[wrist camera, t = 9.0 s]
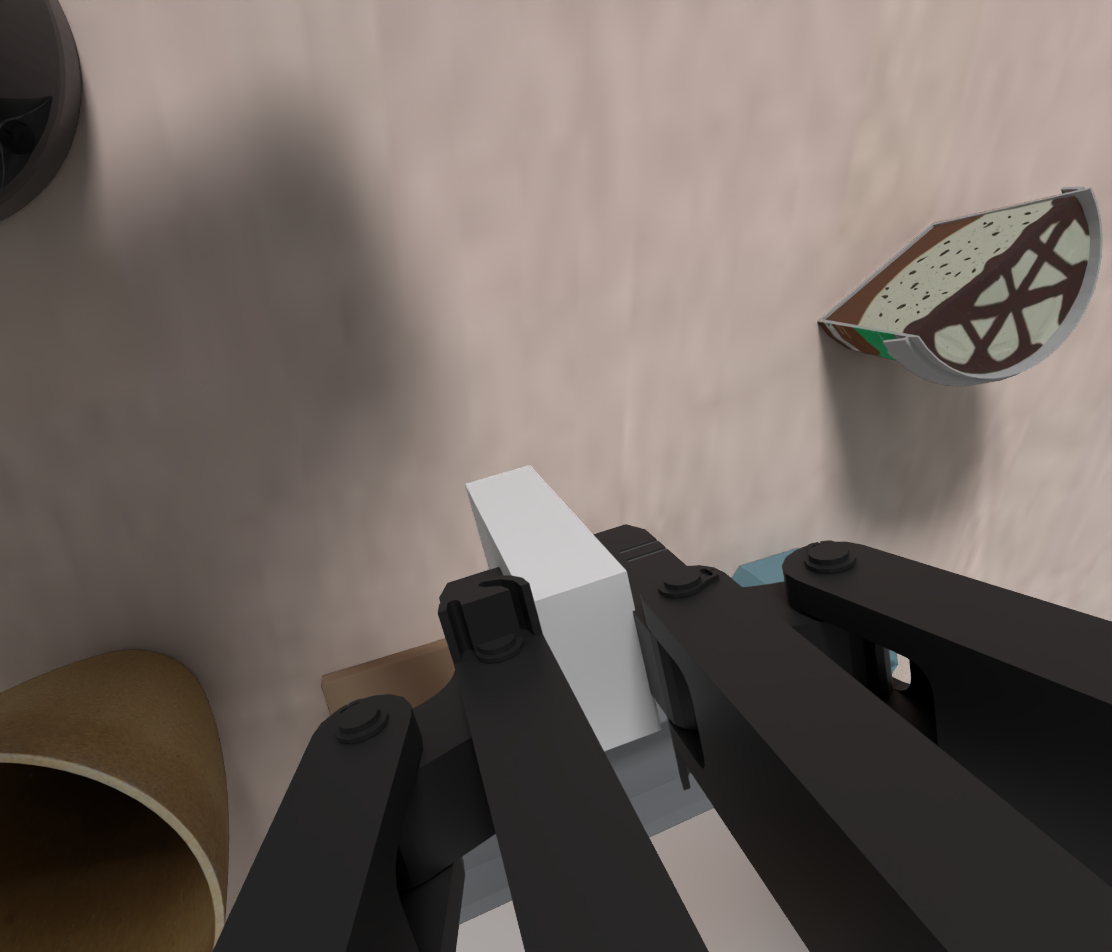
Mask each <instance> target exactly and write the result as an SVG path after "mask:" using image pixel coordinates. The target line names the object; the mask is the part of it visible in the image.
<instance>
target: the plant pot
mask: <svg viewBox="0 0 1112 952" xmlns="http://www.w3.org/2000/svg"><path fill="white" fill-rule="evenodd" d="M228 858H229V813H228V794H227V783H226V774H225V767H224V761H223V754H222V749H221V744H220V739H219V735H218V731H217V727H216V723H215V720H214V716H213V713H212V711H211V708H210V705H209V702H208V700H207V697H206V695H205V693H204V690H203V688H202V686H201V685H200V683H199V681H198V680H197V678H196V677H195V676H194V675H193V674H192V673H191V672H190V671H189V670H188V669H187V668H186V667H185V666H184V665H182V664H180V663H179V662H177V661H176V660H174V659H173V658H170V657H168V656H165V655H163V654H160V653H156V652H151V651H146V650H123V651H116V652H111V653H107V654H103V655H99V656H95V657H91V658H88V659H85V660H81V661H78V662H75V663H72V664H69V665H66V666H63V667H60V668H58V669H55V670H52V671H50V672H47V673H45V674H43V675H40V676H38V677H35V678H33V679H30V680H28V681H26V682H23V683H21V684H19V685H17V686H15V687H13V688H10V689H8V690H6V691H4V692H2V693H0V952H212V951H213V949H214V947H215V945H216V943H217V940H218V938H219V936H220V934H221V932H222V930H223V927H224V925H225V917H226V901H227V885H228Z"/></svg>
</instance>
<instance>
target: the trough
mask: <svg viewBox="0 0 1112 952" xmlns="http://www.w3.org/2000/svg"><path fill="white" fill-rule="evenodd" d="M655 701H656V700H655ZM656 706H657V710H658V715H659V719H660V724H661V728H662V730H660V731H658V732H655V733H652V734H650V735H647V736H644V737H641V738H639V739H636V740H633V741H631V742H628V743H625V744H623V745H620V746H617V747H614V748H612V749H609V750H606V751H604V752H605V754H606V756H607V758H608V760H609V762H610V764H611V765H612V767H613V769H614V771H615V773H616V775H617V777H618V779H619V781H620V783H621V785H622V787H623V788H624V790H625V792H626V794H627V796H628V798H629V800H630V802H631V804H632V806H633V808H634V810H635V811H636V813H637V815H638V817H639V819H640V821H641V823H642V825H643V827H644V829H645V831H646V833H647V834H648V836H649V837H651V836H653V835H655V834H658V833H660V832H662V831H664V830H667V829H669V828H671V827H673V826H675V825H677V824H680V823H682V822H684V821H686V820H688V819H691V818H692V817H695V816H697V815H699V814H701V813H704V812H706V811H708V810H710V809H712V808H714V807H713V805H712V804H711V802H710V801H709V799H708V798H707V796H706V795H705V793H704V792H703V790H702V789H701V787H700V786H699V784H698V783H697V781H696V780H695V778H694V777H693V775H692V774H691V772H690V774H689V776H688V777H689V782H690V787H691V788H690V789H687V790H684V789H683V786H682V783H681V780H680V775H679V770H678V766H677V761H676V757H675V752H674V747H673V743H672V738H671V734H670V729H669V725H668V720H667V716H666V714H665V713H664V712H663V710H662V709H661V707H660V706H659V704H658V703H657V702H656ZM462 858H463V860H464V868H465V881H464V889H463V897H462V905H461V913H460V921H459V924H461V923H463V922H466V921H468V920H470V919H472V918H475V917H477V916H479V915H481V914H483V913H485V912H488V911H490V910H492V909H494V908H496V907H499V906H500V905H503V904H505V903H507V902H509V901H512V897H511V893H510V889H509V885H508V881H507V877H506V873H505V869H504V865H503V861H502V857H501V853H500V849H499V845H498V840H497V836H496V834H495V835H493V836H492V837H490V838H489V839H487V840H486V841H485V842H483V843H482V844H480V845H479V846H477V847H476V848H474V849H473V850H471V851H470V852H468V853H467V854H466V855H464V856H463V857H462Z"/></svg>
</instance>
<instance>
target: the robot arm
mask: <svg viewBox="0 0 1112 952" xmlns="http://www.w3.org/2000/svg"><path fill="white" fill-rule="evenodd" d="M80 100H81V80H80V68H79V62H78V56H77V51H76V47H75V43H74V39H73V36H72V33H71V30H70V27H69V24H68V22H67V19H66V16H65V14H64V12H63V10H62V8H61V5H60V3H59V1H58V0H0V221H1V220H3V219H5V218H7V217H9V216H10V215H12V214H14V213H15V212H17V211H19V210H20V209H21V208H23V207H24V206H25V205H27V204H28V203H29V202H31V201H32V200H33V199H34V198H35V197H36V196H37V195H38V194H39V193H40V192H41V191H42V190H43V189H44V188H45V187H46V186H47V185H48V183H49V182H50V181H51V180H52V178H53V177H54V176H55V174H56V173H57V171H58V170H59V168H60V167H61V165H62V163H63V161H64V159H65V158H66V156H67V153H68V151H69V149H70V146H71V144H72V141H73V138H74V135H75V131H76V127H77V123H78V118H79V111H80ZM465 486H466V489H467V493H468V496H469V500H470V503H471V507H472V510H473V514H474V517H475V521H476V525H477V528H478V532H479V535H480V539H481V542H482V546H483V549H484V553H485V556H486V560H487V563H488V567H489V570H487V571H484V572H481V573H478V574H474V575H471V576H468V577H465V578H462V579H459V580H456V581H452V582H449V583H447V585H446V587H445V588H444V590H443V592H442V594H441V596H440V597H439V599H440V604H439V609H438V616H439V619H440V622H441V625H442V628H443V632H444V635H445V638H446V641H447V645H448V648H449V651H450V654H451V657H452V661H453V664H454V668H455V672H454V674H453V676H452V678H451V680H450V681H449V682H448V683H447V685H446V686H445V687H444V688H443V689H442V690H440V691H439V692H438V693H437V694H436V695H435V696H433V697H431V698H430V699H428V700H427V701H425V702H424V703H422V704H420V705H418V706H417V707H415V708H413V709H412V706H411V704H410V703H409V702H408V701H407V700H406V699H405V698H404V697H401V696H397V695H392V694H385V695H374V696H370V697H367V698H364V699H357V700H355V701H353V702H350V703H349V705H344V706H343V707H341V708H339V709H338V710H337V711H336V712H334V713H333V714H332V715H331V716H330V717H328V718H327V719H326V720H325V721H323V722H322V723H321V724H320V726H319V727H318V729H317V730H316V731H315V733H314V734H313V736H312V738H311V740H310V742H309V744H308V746H307V748H306V751H305V753H304V755H303V757H302V759H301V761H300V764H299V766H298V768H297V770H296V772H295V774H294V776H293V779H292V781H291V783H290V785H289V787H288V789H287V792H286V794H285V796H284V798H283V800H282V802H281V805H280V807H279V809H278V811H277V813H276V815H275V817H274V820H273V822H272V824H271V826H270V828H269V830H268V833H267V835H266V837H265V839H264V841H263V843H262V845H261V848H260V850H259V852H258V854H257V856H256V858H255V861H254V863H253V865H252V867H251V869H250V871H249V874H248V876H247V878H246V880H245V882H244V884H243V886H242V889H241V891H240V893H239V895H238V897H237V899H236V902H235V904H234V906H233V908H232V910H231V912H230V914H229V917H228V919H227V921H226V923H225V925H224V927H223V930H222V932H221V934H220V936H219V938H218V940H217V943H216V945H215V947H214V949H213V951H212V952H456V944H457V937H458V929H459V921H460V913H461V905H462V897H463V889H464V881H465V868H464V860H463V858H462V857H463V856H464V855H466V854H467V853H468V852H470V851H471V850H473V849H474V848H476V847H477V846H479V845H480V844H482V843H483V842H485V841H486V840H487V839H489V838H490V837H492V836H493V835H495V834H496V836H497V840H498V845H499V849H500V853H501V857H502V861H503V865H504V869H505V873H506V877H507V881H508V885H509V889H510V893H511V897H512V901H513V905H514V909H515V912H516V917H517V921H518V925H519V929H520V933H521V937H522V941H523V945H524V949H525V952H709V951H708V950H707V948H706V946H705V944H704V942H703V940H702V938H701V936H700V934H699V932H698V930H697V928H696V926H695V925H694V923H693V921H692V919H691V917H690V915H689V914H688V911H687V909H686V907H685V905H684V903H683V902H682V900H681V898H680V896H679V894H678V892H677V890H676V888H675V886H674V884H673V882H672V880H671V879H670V877H669V875H668V873H667V871H666V869H665V867H664V865H663V863H662V861H661V859H660V858H659V856H658V854H657V852H656V850H655V848H654V846H653V844H652V842H651V840H650V838H649V836H648V834H647V833H646V831H645V829H644V827H643V825H642V823H641V821H640V819H639V817H638V815H637V813H636V811H635V810H634V808H633V806H632V804H631V802H630V800H629V798H628V796H627V794H626V792H625V790H624V788H623V787H622V785H621V783H620V781H619V779H618V777H617V775H616V773H615V771H614V769H613V767H612V765H611V764H610V762H609V760H608V758H607V756H606V754H605V752H604V751H606V750H609V749H612V748H614V747H617V746H620V745H623V744H625V743H628V742H631V741H633V740H636V739H639V738H641V737H644V736H647V735H650V734H652V733H655V732H658V731H660V730H662V728H661V724H660V719H659V715H658V710H657V706H656V702H657V703H658V704H659V706H660V707H661V709H662V710H663V712H664V713H665V714H666V716H667V720H668V725H669V729H670V734H671V738H672V743H673V747H674V752H675V757H676V761H677V766H678V770H679V775H680V780H681V783H682V786H683V789H684V790H687V789H690V788H691V787H690V782H689V777H688V776H689V774H690V772H691V774H692V775H693V777H694V778H695V780H696V781H697V783H698V784H699V786H700V787H701V789H702V790H703V792H704V793H705V795H706V796H707V798H708V799H709V801H710V802H711V804H712V805H713V807H714V808H715V810H716V811H717V813H718V814H719V816H720V817H721V819H722V820H723V822H724V823H725V825H726V826H727V827H728V829H729V831H730V832H731V834H732V835H733V837H734V838H735V840H736V841H737V843H738V844H739V846H740V847H741V849H742V850H743V852H744V853H745V855H746V856H747V858H748V859H749V861H750V862H751V864H752V865H753V867H754V868H755V870H756V871H757V873H758V874H759V876H760V877H761V879H762V880H763V882H764V884H765V885H766V887H767V888H768V890H769V891H770V893H771V894H772V895H773V897H774V899H775V900H776V902H777V903H778V904H779V906H780V907H781V909H782V911H783V912H784V914H785V915H786V917H787V918H788V920H789V921H790V923H791V924H792V926H793V927H794V929H795V930H796V932H797V933H798V935H799V936H800V938H801V939H802V941H803V942H804V944H805V945H806V947H807V948H808V950H809V951H810V952H1112V622H1111V621H1108V620H1105V619H1101V618H1098V617H1095V616H1092V615H1088V614H1085V613H1082V612H1079V611H1076V610H1072V609H1069V608H1066V607H1063V606H1059V605H1056V604H1053V603H1050V602H1046V601H1043V600H1040V599H1037V598H1033V597H1030V596H1027V595H1024V594H1020V593H1017V592H1014V591H1011V590H1007V589H1004V588H1001V587H998V586H994V585H991V584H988V583H985V582H981V581H978V580H975V579H972V578H968V577H965V576H962V575H959V574H955V573H952V572H949V571H946V570H942V569H939V568H936V567H933V566H930V565H926V564H923V563H920V562H917V561H913V560H910V559H907V558H904V557H900V556H897V555H894V554H891V553H887V552H884V551H881V550H878V549H874V548H871V547H868V546H865V545H861V544H855V543H850V542H834V541H820V543H818V542H816V543H811V544H809V545H808V546H805V547H803V548H800V549H797V550H795V551H794V552H792V553H791V554H789V555H788V556H787V557H786V558H785V560H784V562H783V564H782V569H783V576H784V581H783V582H777V583H771V584H764V585H758V586H749V587H742V586H740V585H739V584H738V583H737V582H735V581H734V580H733V579H732V578H730V577H729V576H728V575H727V574H726V573H724V572H722V571H720V570H718V569H716V568H714V567H708V566H700V565H697V566H686V565H685V564H684V563H683V562H682V561H681V560H679V559H678V558H677V557H676V556H675V555H674V554H673V553H671V552H670V551H669V550H668V549H666V548H665V546H664V545H662V544H661V543H660V542H659V541H657V540H656V538H654V537H653V536H652V535H651V534H650V533H649V532H648V531H646V530H645V529H642V528H638V527H634V526H630V525H626V524H625V525H622V526H619V527H616V528H612V529H609V530H606V531H603V532H600V533H597V534H594V535H593V534H592V533H591V531H590V530H589V529H588V528H587V527H586V526H585V525H584V524H583V523H582V522H581V520H580V519H579V518H578V517H577V516H576V515H575V514H574V513H573V512H572V511H571V510H570V508H569V507H568V506H567V505H566V504H565V503H564V502H563V501H562V500H561V499H560V497H559V496H558V495H557V494H556V493H555V492H554V491H553V490H552V489H551V488H550V486H549V485H548V484H547V483H546V482H545V481H544V480H543V479H542V478H541V477H540V476H539V474H538V473H537V472H536V471H535V470H534V469H533V468H532V467H531V466H530V465H527V466H524V467H521V468H517V469H514V470H511V471H507V472H504V473H500V474H497V475H494V476H490V477H487V478H484V479H480V480H477V481H473V482H470V483H467V484H465ZM889 650H891V651H893V652H895V653H898V654H900V655H902V656H905V657H906V658H908V659H909V661H910V671H911V684H908V683H905V682H902V681H900V680H898V679H896V678H894V677H892V670H891V661H890V652H889ZM655 700H656V701H655Z"/></svg>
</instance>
